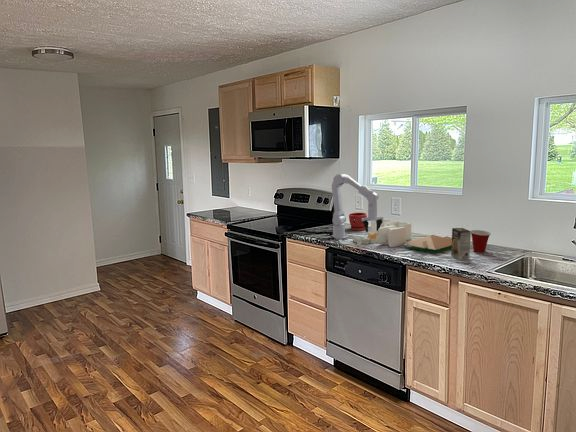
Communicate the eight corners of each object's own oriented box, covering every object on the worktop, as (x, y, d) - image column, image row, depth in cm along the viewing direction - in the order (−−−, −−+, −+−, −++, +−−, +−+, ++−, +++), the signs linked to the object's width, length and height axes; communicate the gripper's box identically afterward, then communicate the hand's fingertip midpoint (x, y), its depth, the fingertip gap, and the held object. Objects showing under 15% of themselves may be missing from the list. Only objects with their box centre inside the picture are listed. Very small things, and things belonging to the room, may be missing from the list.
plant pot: (353, 227, 325) (353, 211, 323) (369, 228, 318) (369, 213, 315) (345, 230, 315) (345, 214, 313) (361, 231, 307) (361, 215, 305)
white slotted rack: (411, 239, 281) (411, 223, 279) (401, 242, 274) (401, 225, 272) (381, 233, 300) (381, 218, 298) (371, 236, 293) (371, 220, 291)
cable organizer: (389, 248, 257) (389, 230, 255) (377, 245, 266) (377, 227, 264) (406, 245, 265) (406, 227, 263) (394, 242, 274) (394, 224, 272)
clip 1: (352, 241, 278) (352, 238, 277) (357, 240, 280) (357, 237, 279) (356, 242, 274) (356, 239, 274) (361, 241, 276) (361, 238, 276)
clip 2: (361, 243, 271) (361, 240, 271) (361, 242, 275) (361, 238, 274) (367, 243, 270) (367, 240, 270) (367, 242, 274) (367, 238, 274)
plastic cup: (486, 255, 236) (487, 234, 234) (466, 252, 243) (467, 232, 241) (492, 251, 244) (493, 231, 242) (473, 248, 251) (474, 229, 249)
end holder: (363, 240, 280) (363, 236, 280) (376, 239, 282) (376, 235, 281) (369, 243, 271) (369, 239, 271) (382, 242, 273) (382, 238, 273)
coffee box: (450, 256, 236) (451, 228, 234) (461, 255, 237) (462, 227, 234) (458, 260, 227) (459, 231, 225) (469, 259, 228) (471, 230, 225)
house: (399, 249, 257) (399, 236, 255) (431, 240, 276) (432, 228, 275) (432, 256, 239) (432, 242, 237) (464, 246, 258) (464, 233, 257)
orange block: (367, 240, 281) (367, 232, 280) (372, 239, 282) (372, 232, 281) (370, 242, 275) (370, 234, 274) (376, 241, 276) (376, 234, 275)
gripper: (364, 212, 269) (364, 233, 271) (385, 211, 272) (385, 231, 274) (360, 210, 276) (360, 231, 278) (380, 209, 278) (380, 229, 281)
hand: (372, 231), depth 276 cm, fingers open, 7 cm apart
